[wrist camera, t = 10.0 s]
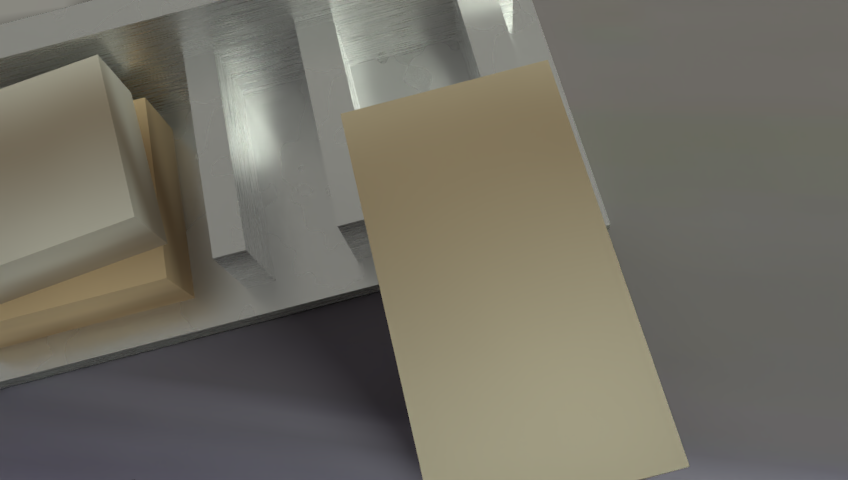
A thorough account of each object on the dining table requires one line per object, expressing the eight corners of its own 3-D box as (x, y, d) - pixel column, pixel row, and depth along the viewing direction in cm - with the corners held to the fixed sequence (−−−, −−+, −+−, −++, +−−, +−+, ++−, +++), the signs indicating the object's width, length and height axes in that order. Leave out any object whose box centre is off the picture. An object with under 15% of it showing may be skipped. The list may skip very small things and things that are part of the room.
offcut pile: (199, 296, 20) (138, 253, 17) (-24, 354, 20) (-130, 321, 17) (175, 120, 22) (116, 49, 19) (-29, 173, 22) (-124, 112, 19)
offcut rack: (607, 232, 20) (634, 156, 16) (-63, 404, 21) (-213, 375, 16) (524, -7, 23) (528, -127, 19) (-64, 147, 23) (-192, 64, 19)
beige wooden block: (575, 498, 18) (689, 467, 7) (478, 522, 18) (434, 531, 7) (523, 318, 20) (548, 59, 9) (433, 342, 20) (341, 113, 9)
